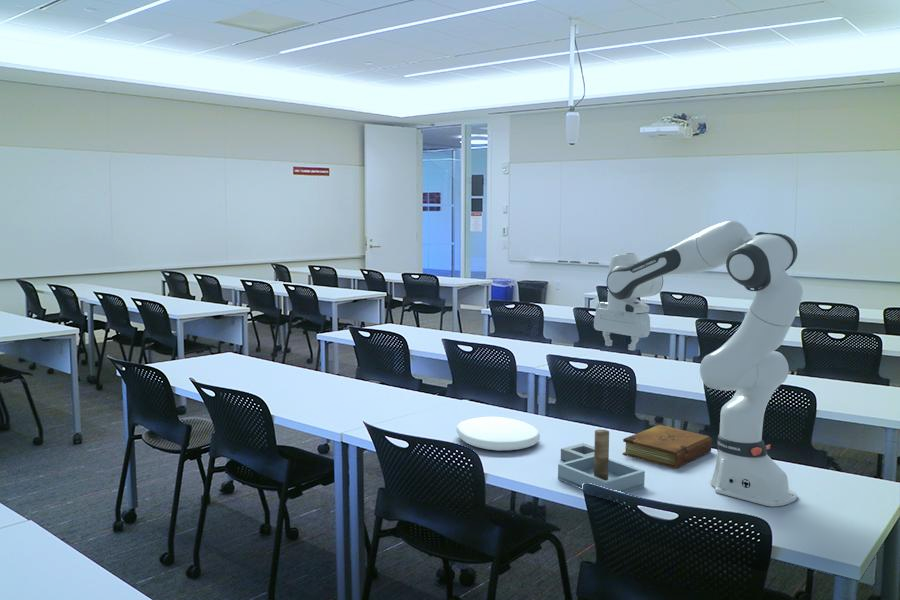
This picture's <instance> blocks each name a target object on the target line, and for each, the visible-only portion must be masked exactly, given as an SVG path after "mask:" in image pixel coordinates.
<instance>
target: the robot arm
mask: <svg viewBox="0 0 900 600" xmlns="http://www.w3.org/2000/svg"><path fill="white" fill-rule="evenodd" d="M797 258H798V247H797V244H796V242H795V241H794V240H793V239H792V238H791V237H790V236H788V235H786V234H782V233H779V232H778V233H777V232H776V233H775V232H763V231H758V232H756V234H754V235H753V234H750V232H749V231H748V229H747V227H745V225H744V224H742V223H741V222H739V221H737V220H726V221H723V222H719V223H716V224H714V225H713V224H712V225H710V226H708V227H707V228H704V229H702V230H700V231H698V232H696V233H695V234H693V235H690V236H689V237H687V238H685V239H683V240H682V241H680V242H678V243H676V244H674V245H673V246H670V247H668V248H666V249H665V250H663V251H660V252H658V253H655V254H653V255H650V256H649V257H647V258H644V259H640V258H639V257H638V256H637V254H635V253H634V252H632V253H631V252H625V253H617V254H615V255H613V256H612V257H611V259H610V261H609V266H608V274H607V278H606V288H607V290H608V291H607V302H605V301H599V303H597V304H596V307H595V314H594V319H593V328H594V330H595V331H599V332H602V337H603V339H604V341H605V342H604V345H605V346H606V347H611V346H613V340H612V339H611V336H610V335H611V334H617V335H623V336H630V340H632V341H631V342H630V344H629V343H628V346H627V349H628V350H629V351H636V349H637V348H636V347H637V346H636V345H637V344H638V342H639V341H640V339H642V338H648V337H649V335H650V333H651V317H650V315H649V313H650V305H648V304H646V303H645V302H643V301H641V300H640V299H638V298H645V297H646V298H647V297H648V298H649V297H653V296H656V295H658V294H659V293H660V292H661V291H662V289H663V286H664V276H670V275H685V274H686V275H688V274H689V275H690V274H700V273H705V272H706V273H707V272H709V271H713V270H716V269H717V268H719V267H722V266H723V265H725V267H726V270H727V273H728V274H729V276H730V277H731V279H732V280H733V281H735V282H736V283H738V284H739V285H741V286H743V287H744V288H745V289H746V290H747V291H749V292H755V294H754V298H753V300H752V301H751V304H750V305H749V307H748V310H747V312H746V314H745V316H744V319H743V320H742V322H741V324H740V326H739V327H738V329H737V330H736V331H735V333H734V334H733V335H732V336H731V337H730V338H728V340H727V341H726V342H725V343H723V344H722V345H721V346H720V347H719V348H717V349H716V350H714V351H712V352H710V353H709V354H706V355H705V356H704V357H703V358H702V360H701V362H700V366H699V373H700V378H701V380H702V382H703V384H704V385H705V386H706V387H708V388H709V389H712V390H718V391H726V392H728V391H735V393H734V395H733V396H732V398H731V399H730V400H728V401H727V402H726V403H724V405H722V407H721V409H720V417H719V418H720V422H719V434H718V435H717V444H716V450H717V458H716V463H715V467H714V468H715V469H714V471H713V474H712V477H711V480H710V484H711V486H713V488H714V489H715V490H714V491H715V492H716V493H717V494H720V495H721V494H722V495H725V496H729V497H733V498H736V499H740V500H744V501H747V502H751V503H754V504H758V505H763V506H767V507H780V506H785V505H789V504H791V503H793V502H795V501H796V500H797V499H798V493H797V492H796V491H794V490H792V489H790V488H789V487H790V486H789V479H788V476H787V474H786V472H785V470H783V469H782V468H781V467H780V466H779V465H778V464H777V463H776V462H775V461H774V460H773V459H772V458H771V457H770V456H769V455H768V451H767V450H770V449H771V445H772V444H767V445H766V444H765V442H764V440H763V438H762V437H763V428H764V427H763V426H764V418H765V417H764V416H765V411H766V408H767V406H768V403H769V402H770V399H771V398H772V396H773V394H774V393H775V392H776V390H777V389H778V388H779V387H780V386H781V385H782V384H783V383H784V382H786V380H787V379H788V376H789V371H790V370H789V363H788V360H787V359H786V357H785V356H784V355H783V353H781V352H779V351H776V350H777V349H778V348H779V347H781V345H783V342H784V339H786V336H787V334H788V333H789V331H790V329H791V326H792V324H793V322H794V320H795V318H796V316H797V313H798V311H799V308H800V305H801V301H802V298H803V294H804V293H803V292H804V291H803V287H802V284H801V283H800V282H799V281H798V280H797V279H796V278H795V277H793V276H790V275H789V274H788V273H787V271H788V270H789V269H790V268H791V267H792V266H793V265H794V264H795V262H796V260H797Z"/></svg>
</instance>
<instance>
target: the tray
mask: <svg viewBox="0 0 900 600" xmlns="http://www.w3.org/2000/svg"><path fill="white" fill-rule="evenodd" d="M557 465H558V466H557V480H558V479H559V481H561V482H564V483H566V484H568V483H569V485H570V484H571V485H570V486H573V485H574V486H573V487H575V486H577V487H576V488H578V487H580V488H582V484H583V483H592V484H595V485H598V486H602V487H605V488H608V489H612V490H617V491H621V492H625V493H624V494H626V493H628V491H629V492H631V491H636V490H639V489H641V488H644V487H645V478H646V477H645V475H646V474H645V473H646V471H645V470H643V469H640V468H637V467H634V466H631V465H629V464H625V463H623V462H620V461H617V460H615V459H612V458H609V464H608V480H603V479H600V478H598V477H595V476H594V455H591V456H587V457H584V458H580V459H576V460H572V461H568V462H566V461H564V462H561V463H558V464H557ZM580 488H579V489H580Z"/></svg>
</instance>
